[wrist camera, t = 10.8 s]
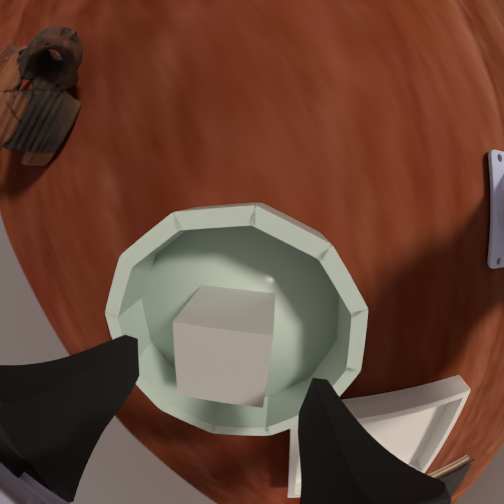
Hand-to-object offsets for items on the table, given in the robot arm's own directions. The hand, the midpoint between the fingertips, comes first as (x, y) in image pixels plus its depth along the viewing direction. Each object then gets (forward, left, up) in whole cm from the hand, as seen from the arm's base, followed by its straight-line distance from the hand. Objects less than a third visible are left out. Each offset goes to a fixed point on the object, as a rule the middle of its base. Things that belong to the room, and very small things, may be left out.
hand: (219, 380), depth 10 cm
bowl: (0, 0, -6) cm, 6 cm away
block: (0, 0, -5) cm, 5 cm away
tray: (-10, +13, -6) cm, 17 cm away
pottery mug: (+13, -16, -6) cm, 22 cm away
